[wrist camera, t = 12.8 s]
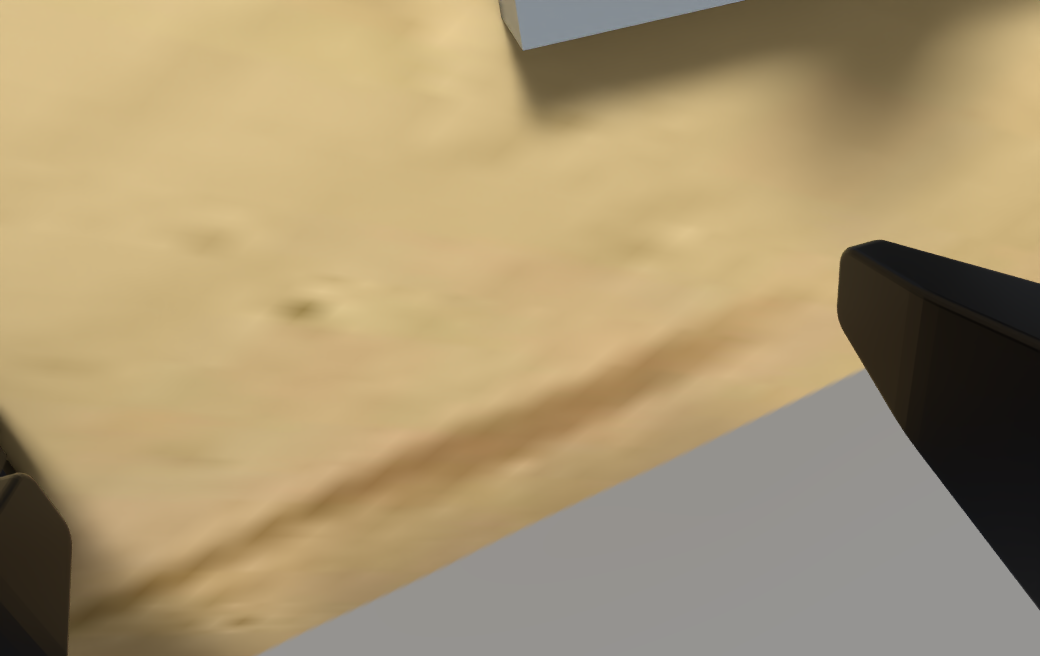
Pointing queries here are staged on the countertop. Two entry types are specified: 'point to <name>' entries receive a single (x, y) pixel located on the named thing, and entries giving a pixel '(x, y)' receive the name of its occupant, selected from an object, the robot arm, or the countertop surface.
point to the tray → (587, 17)
